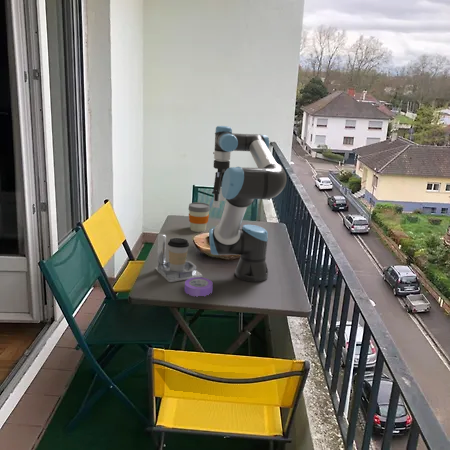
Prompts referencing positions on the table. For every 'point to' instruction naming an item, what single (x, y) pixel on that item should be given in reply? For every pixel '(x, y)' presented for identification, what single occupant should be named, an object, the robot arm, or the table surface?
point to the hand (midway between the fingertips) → (219, 204)
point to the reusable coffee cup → (198, 216)
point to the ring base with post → (165, 266)
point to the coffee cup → (177, 253)
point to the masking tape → (198, 286)
